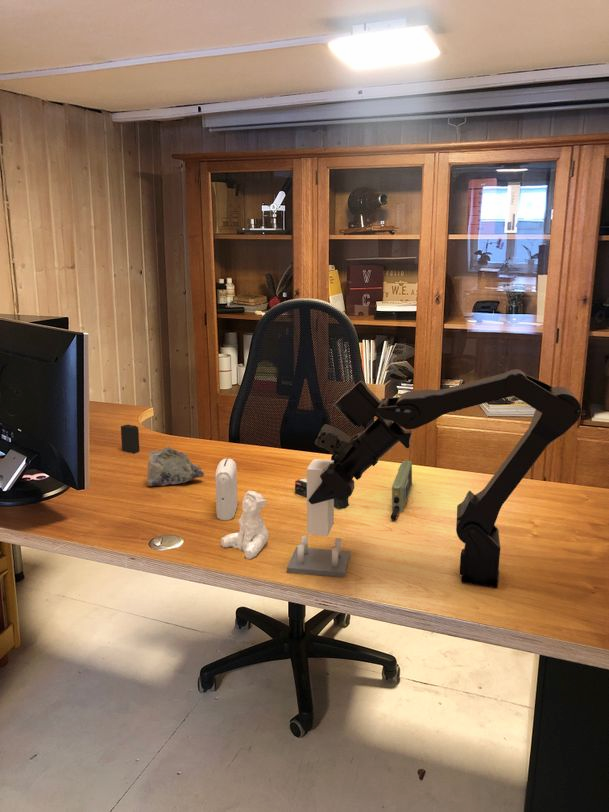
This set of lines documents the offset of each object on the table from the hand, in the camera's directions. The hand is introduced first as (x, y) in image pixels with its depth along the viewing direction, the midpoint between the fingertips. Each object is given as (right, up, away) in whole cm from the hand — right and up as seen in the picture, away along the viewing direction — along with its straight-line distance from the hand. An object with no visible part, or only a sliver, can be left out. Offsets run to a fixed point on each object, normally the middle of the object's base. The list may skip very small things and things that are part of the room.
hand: (313, 496), depth 128 cm
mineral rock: (-36, -3, +45) cm, 57 cm away
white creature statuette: (-13, -12, +10) cm, 20 cm away
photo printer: (-20, -7, +27) cm, 34 cm away
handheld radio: (+21, -6, +33) cm, 40 cm away
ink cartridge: (-54, +3, +72) cm, 90 cm away
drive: (+1, -6, +1) cm, 7 cm away
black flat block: (+1, -6, +37) cm, 37 cm away
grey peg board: (+1, -13, +2) cm, 14 cm away
